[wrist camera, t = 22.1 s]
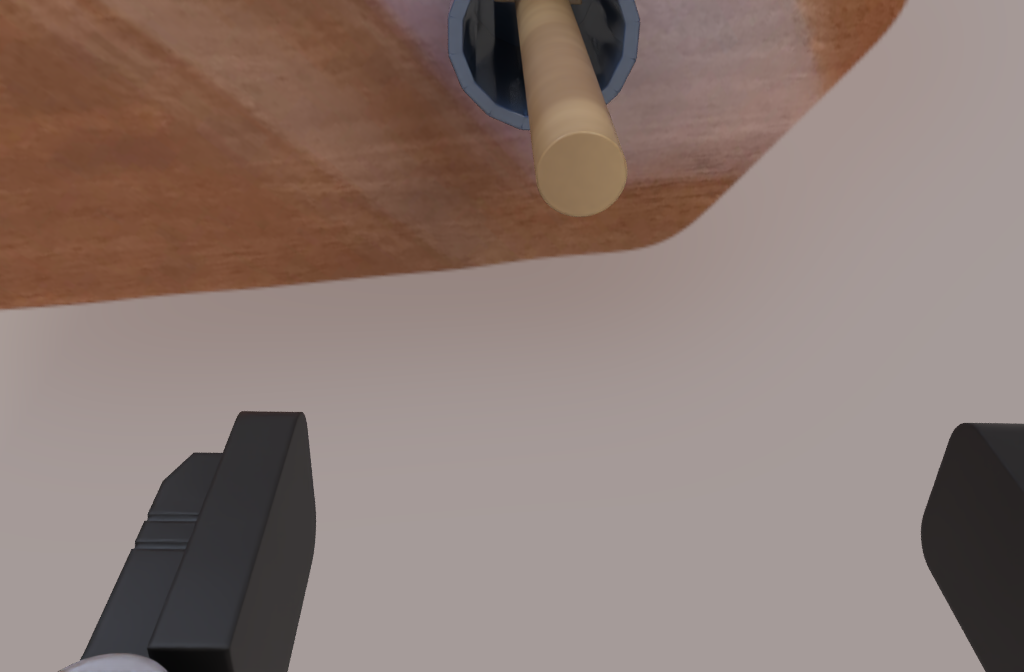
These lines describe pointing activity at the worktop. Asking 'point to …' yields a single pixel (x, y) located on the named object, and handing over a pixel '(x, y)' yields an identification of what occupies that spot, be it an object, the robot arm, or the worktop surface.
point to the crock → (497, 56)
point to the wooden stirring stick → (567, 112)
